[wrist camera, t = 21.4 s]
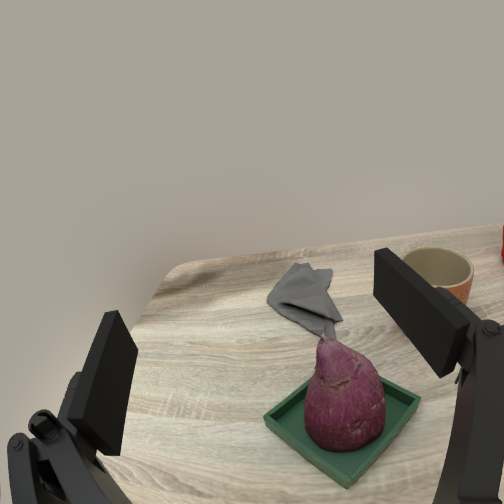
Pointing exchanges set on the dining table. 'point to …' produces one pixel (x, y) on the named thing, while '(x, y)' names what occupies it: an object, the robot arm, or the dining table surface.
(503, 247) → the apple
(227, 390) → the dining table surface
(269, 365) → the dining table surface
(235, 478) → the dining table surface
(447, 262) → the planter
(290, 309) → the cloth
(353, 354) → the vegetable
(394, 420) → the green tray
